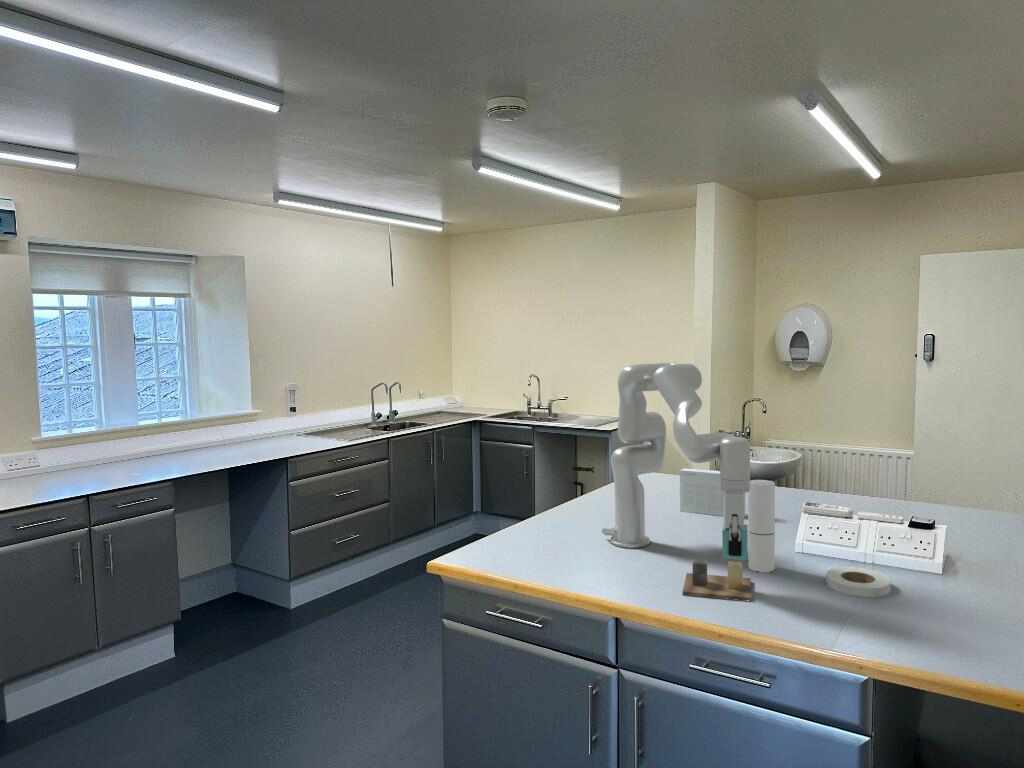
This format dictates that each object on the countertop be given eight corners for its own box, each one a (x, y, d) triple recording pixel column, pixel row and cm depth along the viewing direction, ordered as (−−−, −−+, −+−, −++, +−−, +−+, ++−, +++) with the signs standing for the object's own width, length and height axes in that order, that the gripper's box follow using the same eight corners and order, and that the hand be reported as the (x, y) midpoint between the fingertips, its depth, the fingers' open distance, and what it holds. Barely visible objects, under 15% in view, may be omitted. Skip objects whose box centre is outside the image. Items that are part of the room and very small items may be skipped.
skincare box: (739, 514, 256) (739, 472, 255) (735, 518, 252) (735, 475, 250) (684, 508, 267) (683, 467, 266) (679, 511, 263) (678, 470, 262)
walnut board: (682, 595, 182) (682, 569, 181) (686, 576, 195) (686, 552, 195) (751, 601, 177) (751, 574, 176) (750, 581, 190) (750, 556, 189)
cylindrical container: (774, 565, 202) (774, 480, 200) (774, 573, 196) (775, 486, 194) (748, 562, 205) (748, 479, 203) (748, 571, 198) (748, 484, 196)
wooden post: (727, 588, 183) (727, 565, 183) (728, 583, 187) (728, 561, 186) (742, 589, 182) (742, 567, 182) (742, 584, 186) (742, 562, 185)
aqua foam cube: (722, 558, 182) (722, 529, 181) (723, 550, 188) (723, 523, 187) (747, 560, 180) (747, 531, 179) (747, 552, 186) (747, 524, 185)
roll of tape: (888, 602, 175) (888, 591, 174) (822, 591, 183) (822, 580, 182) (892, 582, 188) (892, 572, 187) (830, 573, 196) (830, 563, 195)
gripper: (721, 476, 192) (721, 540, 193) (718, 491, 175) (719, 561, 177) (749, 477, 189) (749, 542, 191) (750, 492, 173) (750, 563, 174)
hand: (735, 550), depth 184 cm, fingers closed on aqua foam cube, 6 cm apart
